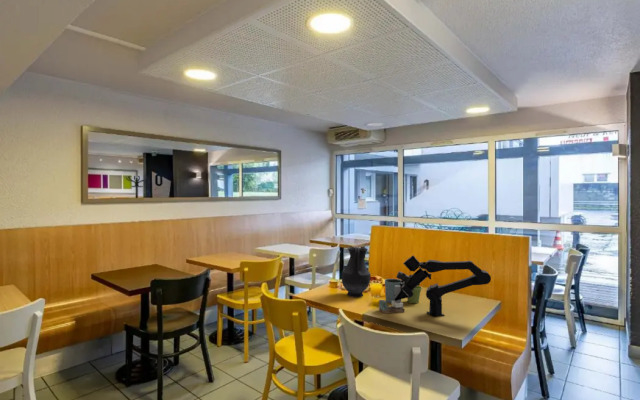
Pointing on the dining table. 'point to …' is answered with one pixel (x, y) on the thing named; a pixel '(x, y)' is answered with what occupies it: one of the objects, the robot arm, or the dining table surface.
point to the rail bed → (389, 308)
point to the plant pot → (415, 295)
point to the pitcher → (356, 273)
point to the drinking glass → (391, 289)
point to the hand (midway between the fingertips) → (394, 298)
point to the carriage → (395, 303)
